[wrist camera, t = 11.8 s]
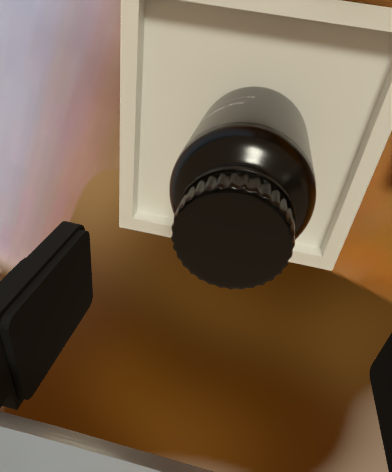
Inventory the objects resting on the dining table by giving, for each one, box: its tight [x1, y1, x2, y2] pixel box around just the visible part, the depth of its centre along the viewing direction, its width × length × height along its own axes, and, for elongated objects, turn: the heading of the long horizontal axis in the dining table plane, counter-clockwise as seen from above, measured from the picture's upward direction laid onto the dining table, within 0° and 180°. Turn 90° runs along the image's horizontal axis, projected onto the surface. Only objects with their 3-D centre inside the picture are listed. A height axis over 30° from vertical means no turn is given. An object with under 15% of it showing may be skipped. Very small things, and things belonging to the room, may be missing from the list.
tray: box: [119, 0, 392, 271], centre depth 24 cm, size 16×16×2 cm
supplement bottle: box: [169, 86, 316, 289], centre depth 19 cm, size 7×7×12 cm
